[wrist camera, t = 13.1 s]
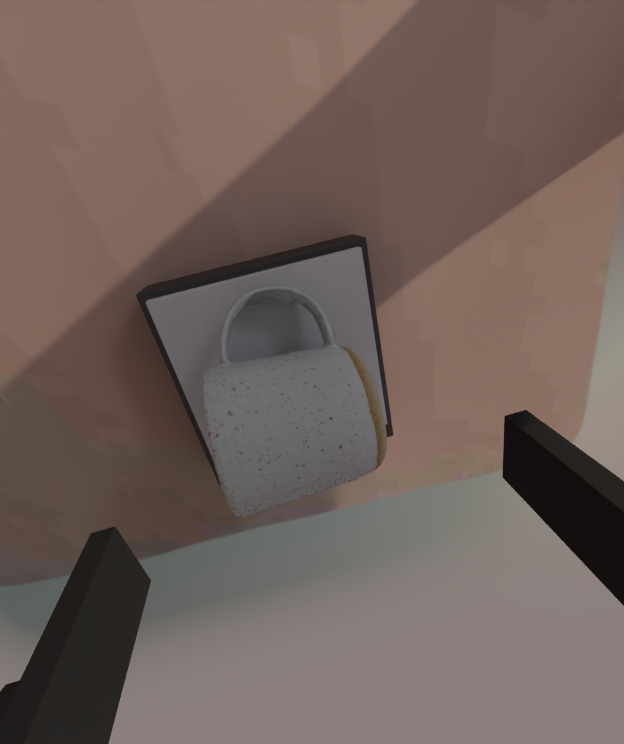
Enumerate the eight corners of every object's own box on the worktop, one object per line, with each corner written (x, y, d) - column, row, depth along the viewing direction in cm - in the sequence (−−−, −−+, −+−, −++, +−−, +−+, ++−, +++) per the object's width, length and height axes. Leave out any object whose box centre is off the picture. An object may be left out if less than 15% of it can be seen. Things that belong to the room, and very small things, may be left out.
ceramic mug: (357, 424, 24) (403, 507, 17) (239, 455, 24) (237, 554, 17) (333, 266, 20) (381, 293, 13) (186, 299, 19) (154, 345, 12)
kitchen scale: (353, 234, 22) (369, 237, 19) (381, 418, 28) (396, 440, 26) (146, 286, 21) (132, 297, 19) (221, 464, 28) (219, 492, 25)
